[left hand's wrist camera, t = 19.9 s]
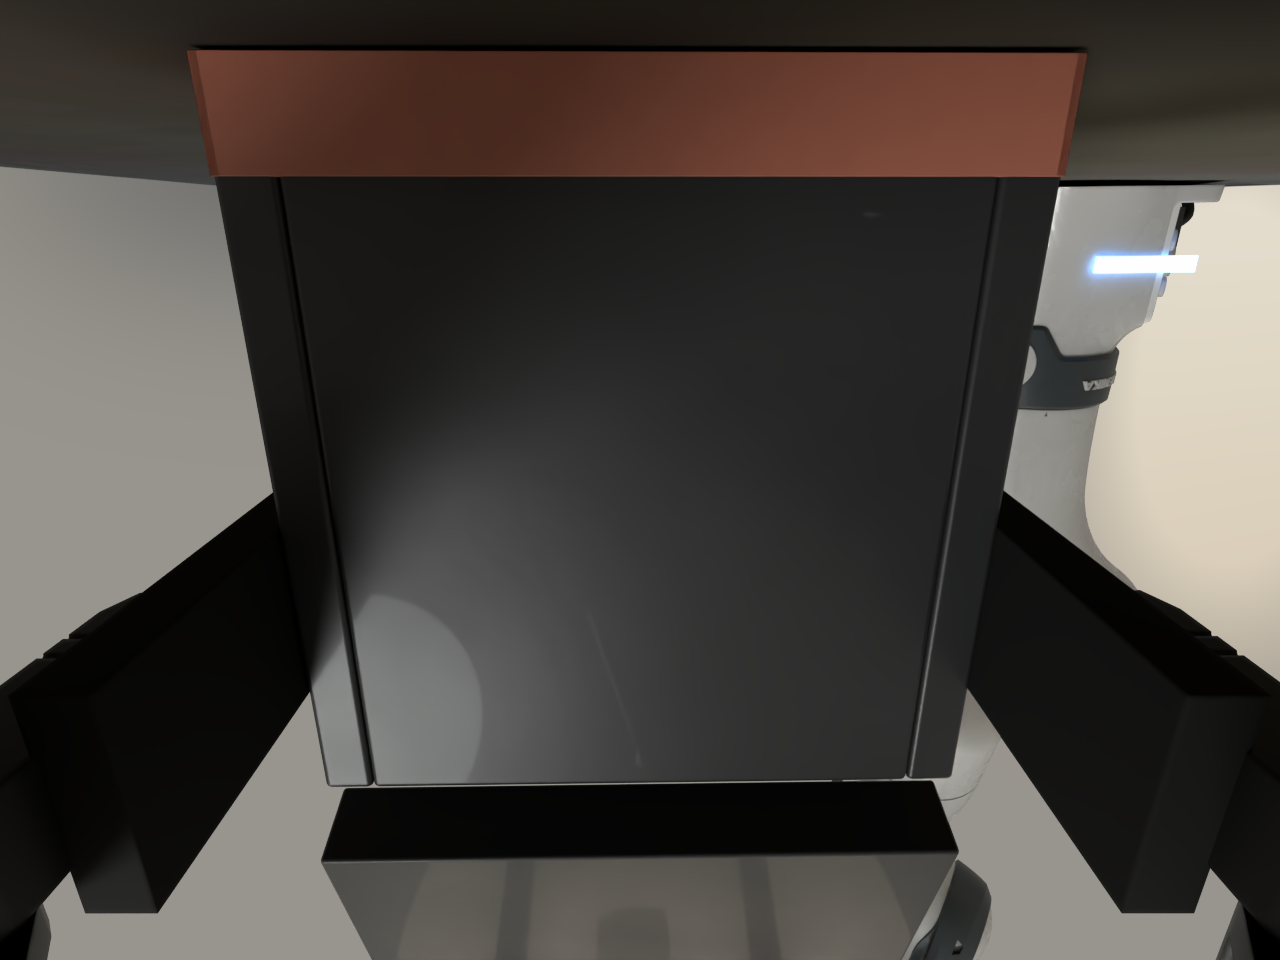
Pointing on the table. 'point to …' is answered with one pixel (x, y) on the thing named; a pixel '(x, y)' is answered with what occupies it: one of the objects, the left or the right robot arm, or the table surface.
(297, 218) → the chest
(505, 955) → the lid
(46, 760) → the left robot arm
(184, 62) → the table surface
